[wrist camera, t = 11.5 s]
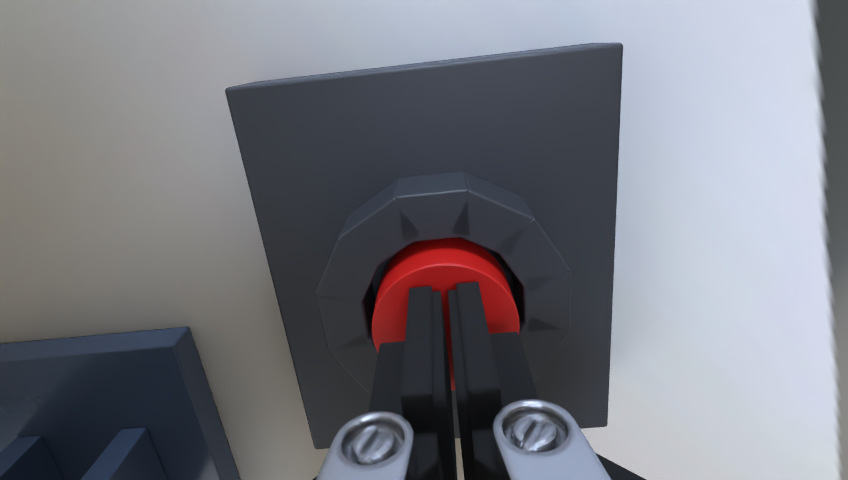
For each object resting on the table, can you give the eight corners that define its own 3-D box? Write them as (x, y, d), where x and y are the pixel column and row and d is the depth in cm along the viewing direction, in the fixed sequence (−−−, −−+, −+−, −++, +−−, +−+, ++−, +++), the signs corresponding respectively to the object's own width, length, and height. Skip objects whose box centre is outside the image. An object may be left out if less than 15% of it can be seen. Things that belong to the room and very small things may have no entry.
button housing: (252, 82, 14) (190, 95, 11) (595, 42, 14) (657, 41, 10) (326, 406, 19) (301, 495, 15) (587, 384, 18) (628, 471, 15)
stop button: (369, 242, 13) (361, 271, 11) (506, 229, 13) (517, 256, 11) (387, 356, 14) (382, 396, 12) (511, 345, 14) (522, 385, 12)
